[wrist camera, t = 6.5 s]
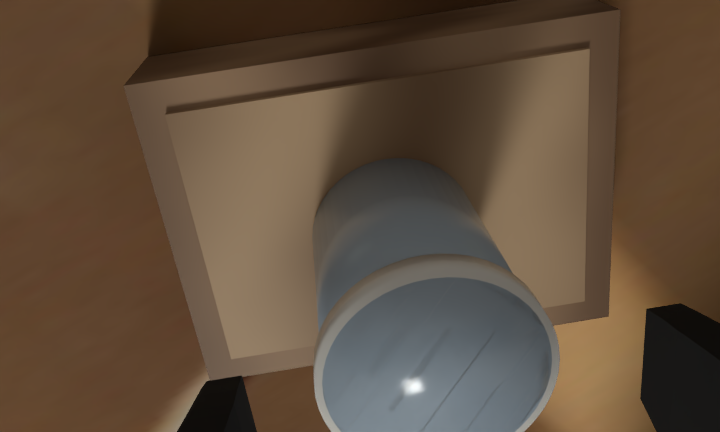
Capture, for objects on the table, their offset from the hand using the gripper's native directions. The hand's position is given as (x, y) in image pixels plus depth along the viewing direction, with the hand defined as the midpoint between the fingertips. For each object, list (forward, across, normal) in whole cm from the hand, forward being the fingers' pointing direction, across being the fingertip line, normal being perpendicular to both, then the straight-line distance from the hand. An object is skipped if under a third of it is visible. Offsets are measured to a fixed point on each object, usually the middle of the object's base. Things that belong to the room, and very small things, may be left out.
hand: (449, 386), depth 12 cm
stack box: (+10, 0, 0) cm, 10 cm away
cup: (+7, 0, 0) cm, 7 cm away
